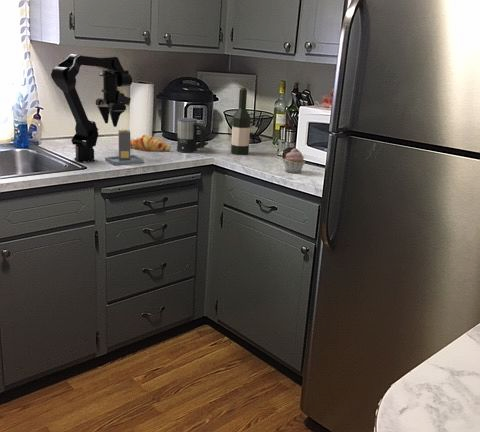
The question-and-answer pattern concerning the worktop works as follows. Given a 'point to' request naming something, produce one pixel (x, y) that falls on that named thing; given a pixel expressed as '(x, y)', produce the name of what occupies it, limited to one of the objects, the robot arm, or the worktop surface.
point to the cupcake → (294, 161)
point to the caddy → (124, 145)
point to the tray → (116, 161)
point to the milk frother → (190, 135)
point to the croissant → (149, 144)
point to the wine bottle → (241, 127)
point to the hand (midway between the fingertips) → (110, 125)
